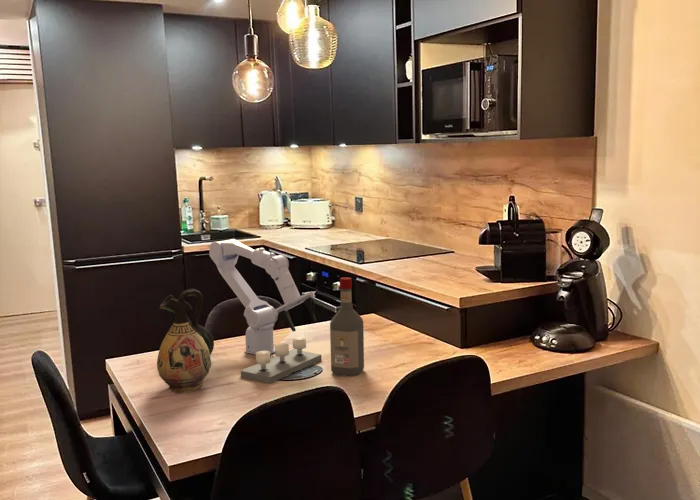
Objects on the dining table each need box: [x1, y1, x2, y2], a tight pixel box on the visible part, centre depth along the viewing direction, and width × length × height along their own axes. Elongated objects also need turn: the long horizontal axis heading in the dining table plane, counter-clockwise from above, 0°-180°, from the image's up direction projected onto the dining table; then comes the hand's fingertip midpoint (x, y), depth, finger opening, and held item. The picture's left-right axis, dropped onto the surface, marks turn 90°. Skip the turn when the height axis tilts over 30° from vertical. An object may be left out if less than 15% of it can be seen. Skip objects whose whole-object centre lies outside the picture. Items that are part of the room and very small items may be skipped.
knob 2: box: [292, 336, 307, 354], centre depth 217 cm, size 4×4×5 cm
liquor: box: [329, 276, 365, 378], centre depth 203 cm, size 9×9×30 cm
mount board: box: [240, 348, 322, 385], centre depth 210 cm, size 12×26×2 cm, turn 146°
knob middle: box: [274, 343, 290, 361], centre depth 209 cm, size 4×4×5 cm
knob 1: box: [255, 351, 271, 369], centre depth 202 cm, size 4×4×5 cm
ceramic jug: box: [156, 288, 212, 394], centre depth 192 cm, size 17×15×30 cm
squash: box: [198, 323, 215, 356], centre depth 218 cm, size 14×15×15 cm
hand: (304, 326), depth 215 cm, fingers open, 7 cm apart
